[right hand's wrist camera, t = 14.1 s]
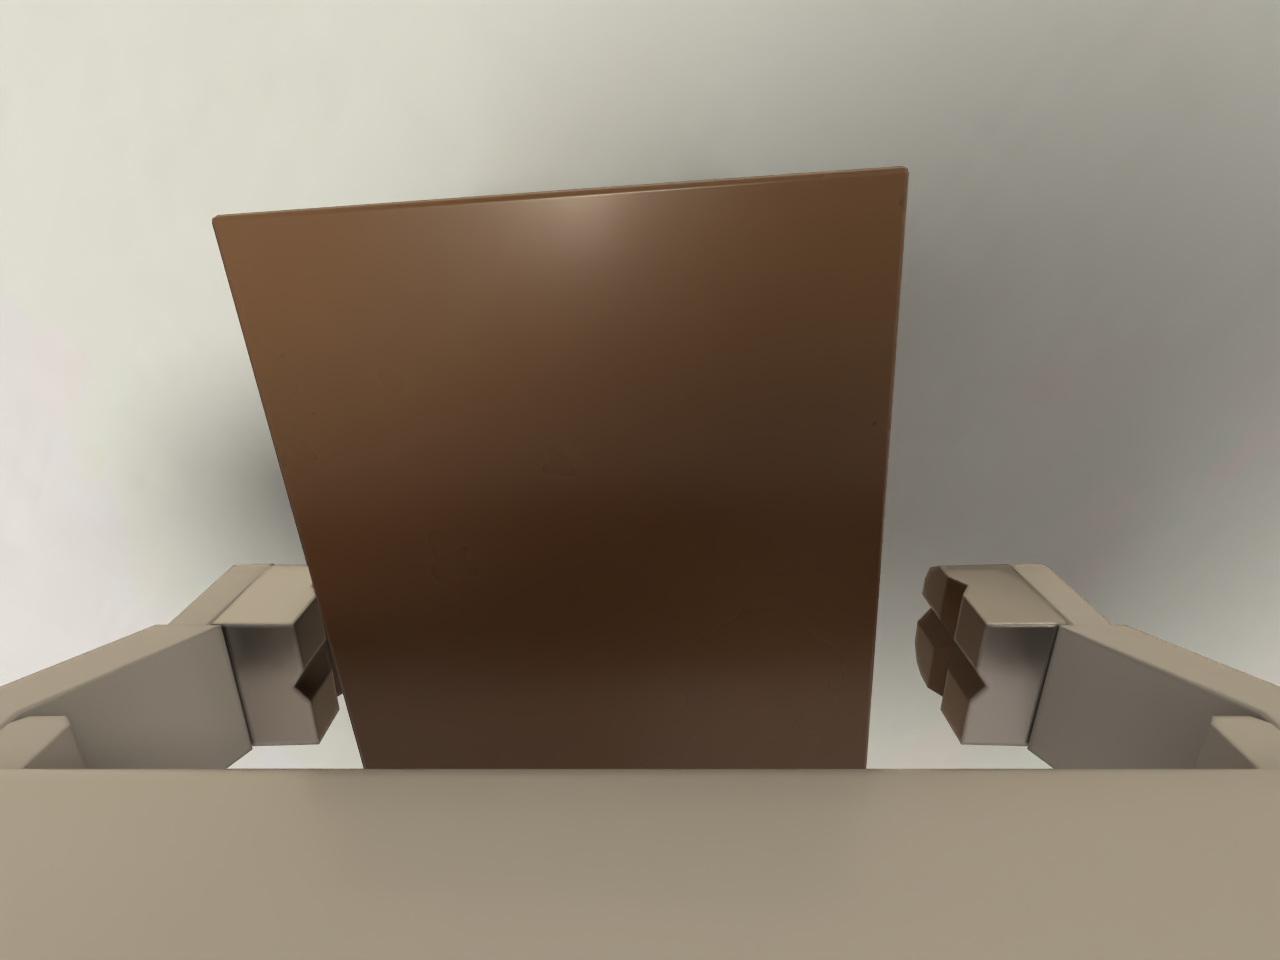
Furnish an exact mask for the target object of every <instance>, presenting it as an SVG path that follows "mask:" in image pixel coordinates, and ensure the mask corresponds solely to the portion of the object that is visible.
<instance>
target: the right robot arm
mask: <svg viewBox="0 0 1280 960" xmlns="http://www.w3.org/2000/svg"><path fill="white" fill-rule="evenodd" d="M922 594H923V596H924V597H925V599H926V601H927V602H928V604H929V605H930V607H931V608H930V609H929V610H928V611H927V612H926V613H925V614H924V616H923V617H922V618H921V619H920V620H919V621H918V623H917V631H916V638H915V648H916V659H917V664H918V667H919V670H920V674H921V676H922V678H923V680H924V681H925V683H926V685H927V687H928V688H930V689H931V690H933V691H934V692H936V693H938V694H939V695H941V696H943V699H942V704H941V711H942V713H943V714H944V716H945V718H946V719H947V721H948V723H949V724H950V726H951V728H952V729H953V731H954V733H955V735H956V736H957V738H958V740H959V741H960V743H961V744H969V745H1006V746H1028V748H1027V749H1028V750H1030V751H1031V752H1032V753H1034V754H1035V755H1036V756H1038V757H1039V758H1040V759H1042V760H1043V761H1044V762H1046V763H1047V764H1048V765H1050V766H1051V767H1053V768H1054V769H226V768H228V767H229V766H230V765H232V764H233V763H234V762H236V761H237V760H239V759H240V758H241V757H243V756H244V755H245V754H247V753H248V752H249V751H251V750H252V746H273V745H309V744H319V743H320V741H321V740H322V738H323V736H324V735H325V733H326V731H327V730H328V728H329V726H330V725H331V723H332V721H333V719H334V718H335V716H336V714H337V713H338V711H339V704H338V699H337V696H339V695H341V694H342V693H343V692H342V688H341V684H340V681H339V677H338V674H337V670H336V666H335V663H334V659H333V656H332V652H331V648H330V645H329V641H328V638H327V634H326V630H325V627H324V623H323V620H322V616H321V612H320V609H319V605H318V602H317V598H316V595H315V591H314V587H313V584H312V580H311V577H310V573H309V569H308V566H307V565H275V564H246V565H233V566H232V567H231V568H230V569H229V570H228V571H227V572H226V573H225V574H223V575H222V576H221V577H220V578H219V579H218V580H217V581H216V582H215V583H214V584H212V585H211V586H210V587H209V588H208V589H207V590H206V591H205V592H204V593H202V594H201V595H200V596H199V597H198V598H197V599H196V600H195V601H194V602H192V603H191V604H190V605H189V606H188V607H187V608H186V609H185V610H184V611H183V612H181V613H180V614H179V615H178V616H177V617H176V618H175V619H174V620H173V621H171V622H170V623H169V624H168V625H154V626H152V627H149V628H147V629H144V630H142V631H139V632H137V633H134V634H132V635H129V636H127V637H124V638H122V639H119V640H117V641H114V642H112V643H109V644H107V645H104V646H102V647H99V648H96V649H94V650H91V651H89V652H86V653H84V654H81V655H79V656H76V657H74V658H71V659H69V660H66V661H64V662H61V663H59V664H56V665H54V666H51V667H49V668H46V669H44V670H41V671H39V672H36V673H34V674H31V675H29V676H26V677H24V678H21V679H19V680H16V681H14V682H11V683H9V684H6V685H3V686H1V687H0V960H1280V687H1279V686H1276V685H1274V684H1271V683H1269V682H1266V681H1264V680H1261V679H1259V678H1256V677H1254V676H1251V675H1249V674H1246V673H1244V672H1241V671H1239V670H1236V669H1234V668H1231V667H1228V666H1226V665H1223V664H1221V663H1218V662H1216V661H1213V660H1211V659H1208V658H1206V657H1203V656H1201V655H1198V654H1196V653H1193V652H1191V651H1188V650H1186V649H1183V648H1181V647H1178V646H1176V645H1173V644H1171V643H1168V642H1166V641H1163V640H1161V639H1158V638H1156V637H1153V636H1151V635H1148V634H1146V633H1143V632H1141V631H1138V630H1136V629H1133V628H1131V627H1128V626H1126V625H1112V624H1111V623H1110V622H1109V621H1108V620H1106V619H1105V618H1104V617H1103V616H1102V615H1101V614H1100V613H1099V612H1098V611H1097V610H1095V609H1094V608H1093V607H1092V606H1091V605H1090V604H1089V603H1088V602H1087V601H1085V600H1084V599H1083V598H1082V597H1081V596H1080V595H1079V594H1078V593H1077V592H1076V591H1074V590H1073V589H1072V588H1071V587H1070V586H1069V585H1068V584H1067V583H1066V582H1064V581H1063V580H1062V579H1061V578H1060V577H1059V576H1058V575H1057V574H1056V573H1055V572H1053V571H1052V570H1051V569H1050V568H1049V567H1048V566H1045V565H1041V564H1017V565H1009V564H1000V565H958V566H936V567H931V568H930V569H929V571H928V574H927V576H926V578H925V583H924V588H923V593H922Z"/></svg>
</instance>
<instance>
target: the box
mask: <svg viewBox="0 0 1280 960" xmlns="http://www.w3.org/2000/svg"><path fill="white" fill-rule="evenodd" d="M908 178H909V172H908V169H907V168H906V167H903V166H897V167H883V168H868V169H854V170H840V171H826V172H811V173H797V174H783V175H769V176H754V177H740V178H726V179H712V180H698V181H684V182H670V183H656V184H642V185H628V186H614V187H600V188H586V189H572V190H558V191H544V192H530V193H517V194H503V195H489V196H475V197H461V198H447V199H433V200H419V201H406V202H392V203H378V204H364V205H350V206H337V207H323V208H309V209H295V210H281V211H268V212H254V213H240V214H226V215H217V216H215V217H214V218H213V219H212V224H213V228H214V232H215V235H216V239H217V242H218V246H219V250H220V253H221V257H222V260H223V264H224V268H225V271H226V275H227V278H228V282H229V286H230V289H231V293H232V296H233V300H234V303H235V307H236V311H237V314H238V318H239V321H240V325H241V329H242V332H243V336H244V339H245V343H246V347H247V350H248V354H249V357H250V361H251V365H252V368H253V372H254V375H255V379H256V383H257V386H258V390H259V393H260V397H261V401H262V404H263V408H264V411H265V415H266V418H267V422H268V426H269V429H270V433H271V436H272V440H273V444H274V447H275V451H276V454H277V458H278V462H279V465H280V469H281V472H282V476H283V480H284V483H285V487H286V490H287V494H288V498H289V501H290V505H291V508H292V512H293V515H294V519H295V523H296V526H297V530H298V533H299V537H300V541H301V544H302V548H303V551H304V555H305V559H306V562H307V566H308V569H309V573H310V577H311V580H312V584H313V587H314V591H315V595H316V598H317V602H318V605H319V609H320V612H321V616H322V620H323V623H324V627H325V630H326V634H327V638H328V641H329V645H330V648H331V652H332V656H333V659H334V663H335V666H336V670H337V674H338V677H339V681H340V684H341V688H342V692H343V695H344V699H345V702H346V706H347V710H348V713H349V717H350V720H351V724H352V727H353V731H354V735H355V738H356V742H357V745H358V749H359V753H360V756H361V760H362V763H363V767H364V769H866V764H867V751H868V737H869V723H870V709H871V695H872V681H873V667H874V653H875V639H876V625H877V611H878V597H879V583H880V569H881V555H882V541H883V527H884V513H885V499H886V485H887V471H888V458H889V444H890V430H891V416H892V402H893V388H894V374H895V360H896V346H897V332H898V318H899V304H900V290H901V276H902V262H903V248H904V234H905V220H906V206H907V192H908Z"/></svg>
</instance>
